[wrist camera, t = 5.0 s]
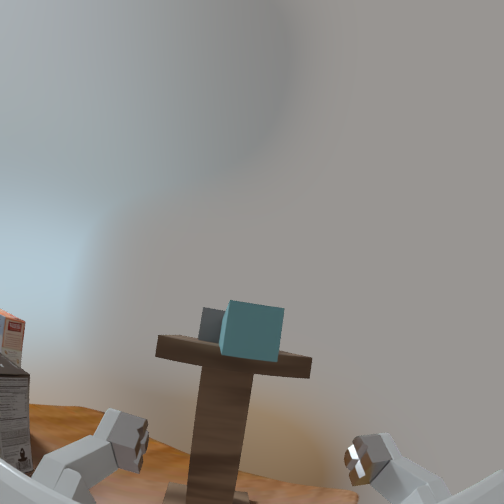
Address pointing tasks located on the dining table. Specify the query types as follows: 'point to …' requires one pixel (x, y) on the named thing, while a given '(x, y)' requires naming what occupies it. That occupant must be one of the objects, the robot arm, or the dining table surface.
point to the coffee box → (14, 416)
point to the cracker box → (11, 337)
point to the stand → (220, 415)
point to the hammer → (244, 330)
